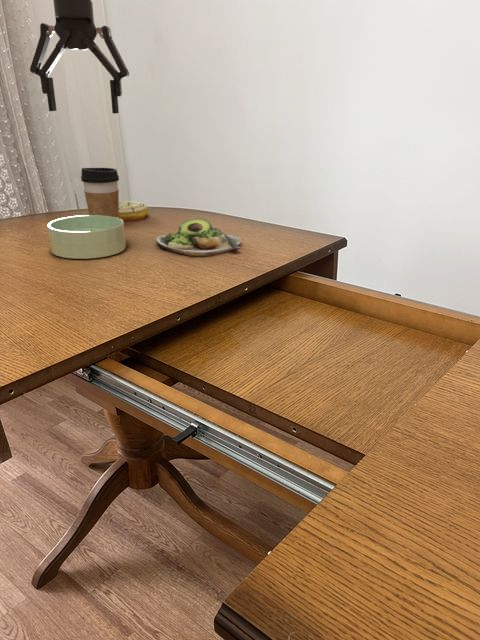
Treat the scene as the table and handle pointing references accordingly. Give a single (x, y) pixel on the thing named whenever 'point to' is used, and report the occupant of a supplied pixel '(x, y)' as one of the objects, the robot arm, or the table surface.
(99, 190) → the coffee cup
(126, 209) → the decorated donut
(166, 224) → the table surface
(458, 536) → the table surface
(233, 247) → the salad plate
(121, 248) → the bowl
